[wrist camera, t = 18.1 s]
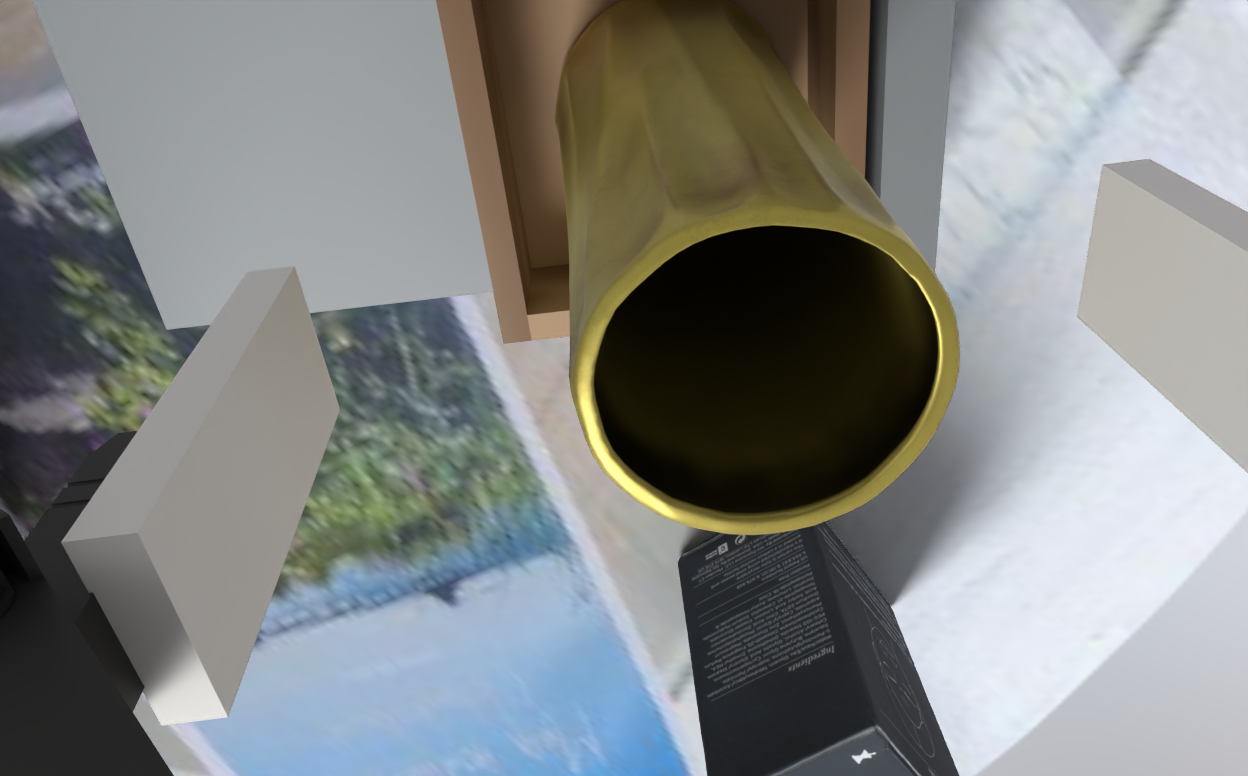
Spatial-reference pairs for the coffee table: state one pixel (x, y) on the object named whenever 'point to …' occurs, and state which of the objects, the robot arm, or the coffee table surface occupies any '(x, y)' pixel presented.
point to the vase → (735, 282)
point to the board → (365, 141)
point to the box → (802, 663)
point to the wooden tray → (529, 143)
